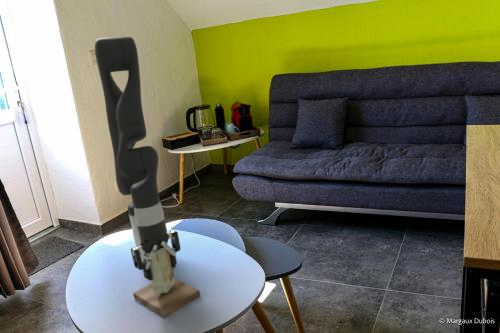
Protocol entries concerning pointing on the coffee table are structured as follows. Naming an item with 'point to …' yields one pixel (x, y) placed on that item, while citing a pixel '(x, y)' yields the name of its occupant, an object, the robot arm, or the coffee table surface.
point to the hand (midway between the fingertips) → (161, 273)
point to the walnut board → (167, 298)
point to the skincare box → (161, 271)
